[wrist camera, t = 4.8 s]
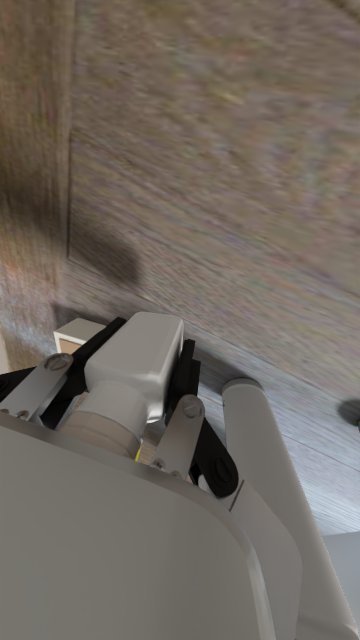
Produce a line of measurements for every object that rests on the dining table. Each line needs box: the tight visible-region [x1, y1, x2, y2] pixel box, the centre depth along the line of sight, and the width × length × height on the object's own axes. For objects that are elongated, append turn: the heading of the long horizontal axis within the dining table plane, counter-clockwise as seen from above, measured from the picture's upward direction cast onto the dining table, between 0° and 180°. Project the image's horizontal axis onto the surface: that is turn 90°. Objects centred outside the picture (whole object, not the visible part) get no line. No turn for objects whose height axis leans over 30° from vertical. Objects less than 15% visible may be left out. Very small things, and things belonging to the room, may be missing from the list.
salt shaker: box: [57, 311, 184, 460], centre depth 9 cm, size 4×4×10 cm
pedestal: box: [54, 318, 106, 355], centre depth 22 cm, size 10×10×4 cm
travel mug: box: [222, 378, 359, 640], centre depth 14 cm, size 6×7×20 cm
